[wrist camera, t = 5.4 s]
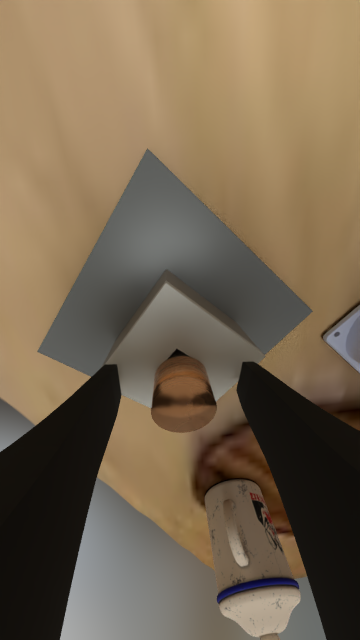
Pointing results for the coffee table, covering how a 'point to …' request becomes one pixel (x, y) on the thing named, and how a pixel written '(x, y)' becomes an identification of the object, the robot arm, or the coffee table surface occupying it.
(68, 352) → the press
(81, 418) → the robot arm
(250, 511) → the teacup with lid
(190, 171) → the coffee table surface
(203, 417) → the plunger
